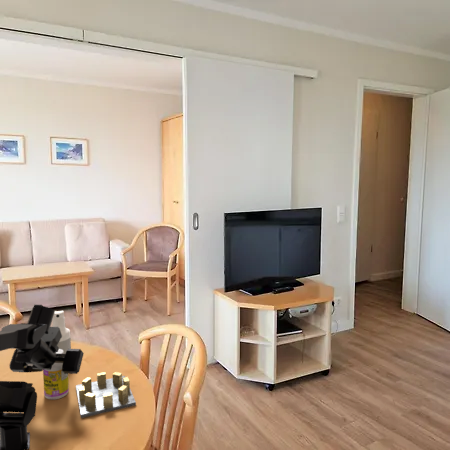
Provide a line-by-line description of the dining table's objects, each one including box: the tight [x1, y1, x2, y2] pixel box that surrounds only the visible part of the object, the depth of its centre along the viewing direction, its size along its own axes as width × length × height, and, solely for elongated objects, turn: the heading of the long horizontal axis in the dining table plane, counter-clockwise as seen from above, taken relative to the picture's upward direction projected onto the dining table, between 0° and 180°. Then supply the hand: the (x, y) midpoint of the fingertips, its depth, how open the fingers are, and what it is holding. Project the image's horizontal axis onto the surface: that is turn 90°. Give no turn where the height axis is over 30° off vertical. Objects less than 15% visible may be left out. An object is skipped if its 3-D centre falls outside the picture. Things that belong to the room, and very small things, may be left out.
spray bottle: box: [51, 310, 72, 354], centre depth 136 cm, size 7×7×18 cm
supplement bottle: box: [42, 349, 70, 400], centre depth 117 cm, size 7×7×13 cm
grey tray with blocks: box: [75, 371, 137, 419], centre depth 117 cm, size 16×14×4 cm
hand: (57, 369), depth 119 cm, fingers open, 9 cm apart
